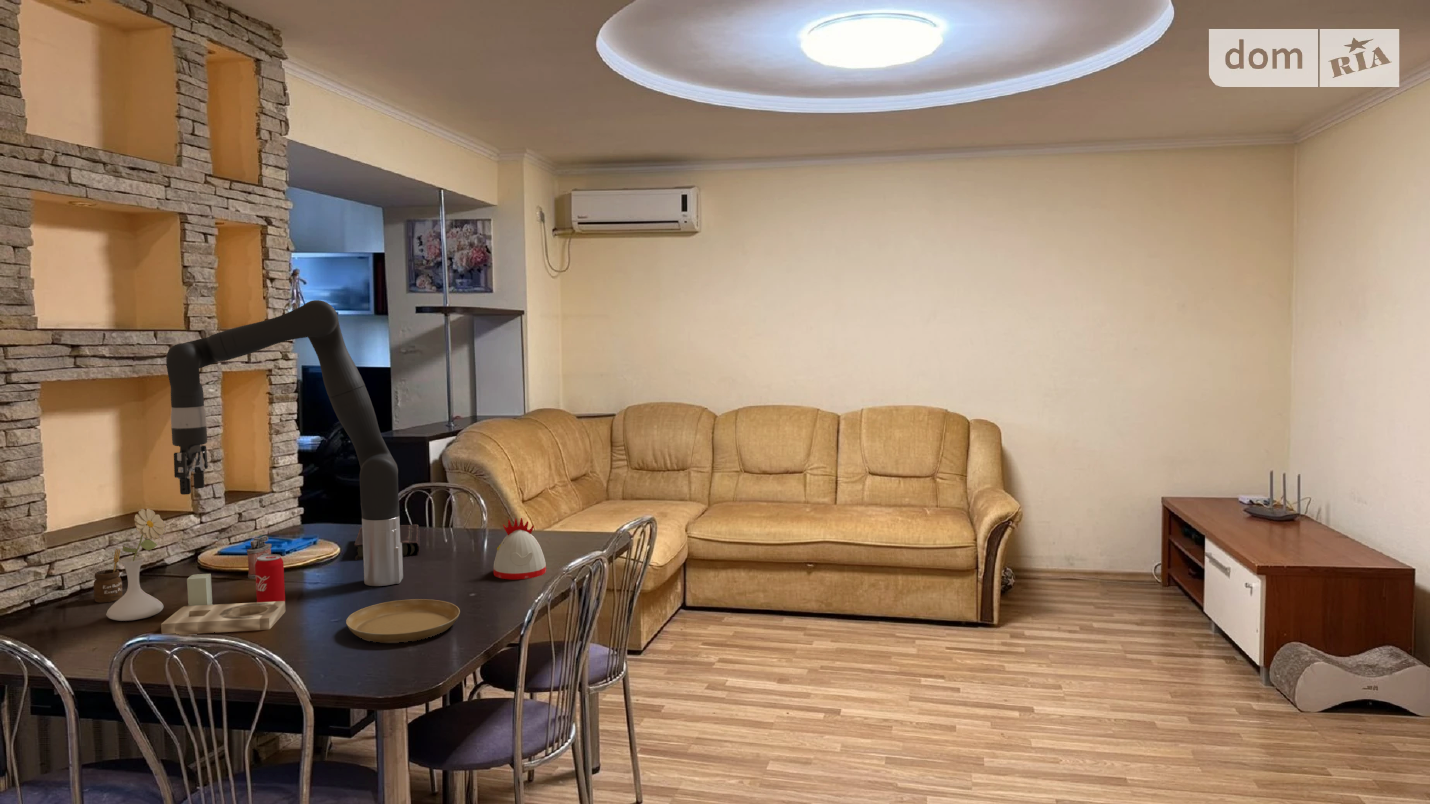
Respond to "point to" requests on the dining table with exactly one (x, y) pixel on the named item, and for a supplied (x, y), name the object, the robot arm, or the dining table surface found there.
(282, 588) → the beverage can
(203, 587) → the square peg
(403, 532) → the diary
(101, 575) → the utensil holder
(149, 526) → the flower in vase
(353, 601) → the dining table surface
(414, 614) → the plant saucer
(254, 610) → the socket board
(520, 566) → the kitchen timer
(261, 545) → the lighter
